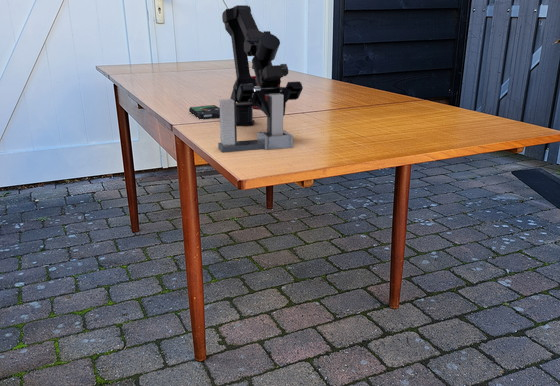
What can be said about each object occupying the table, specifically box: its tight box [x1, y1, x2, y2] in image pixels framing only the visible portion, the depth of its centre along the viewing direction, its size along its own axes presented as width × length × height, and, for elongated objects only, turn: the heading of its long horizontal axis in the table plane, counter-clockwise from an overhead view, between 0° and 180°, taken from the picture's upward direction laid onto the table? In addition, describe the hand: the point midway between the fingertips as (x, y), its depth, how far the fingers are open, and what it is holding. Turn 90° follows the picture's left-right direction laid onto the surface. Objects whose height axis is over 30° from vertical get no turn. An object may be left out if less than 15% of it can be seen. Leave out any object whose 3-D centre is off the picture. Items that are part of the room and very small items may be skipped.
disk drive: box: [188, 104, 220, 120], centre depth 199 cm, size 10×3×15 cm
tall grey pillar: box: [266, 93, 284, 136], centre depth 155 cm, size 3×4×12 cm
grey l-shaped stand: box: [217, 98, 294, 153], centre depth 153 cm, size 7×20×14 cm, turn 110°
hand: (276, 116), depth 153 cm, fingers closed on tall grey pillar, 4 cm apart
